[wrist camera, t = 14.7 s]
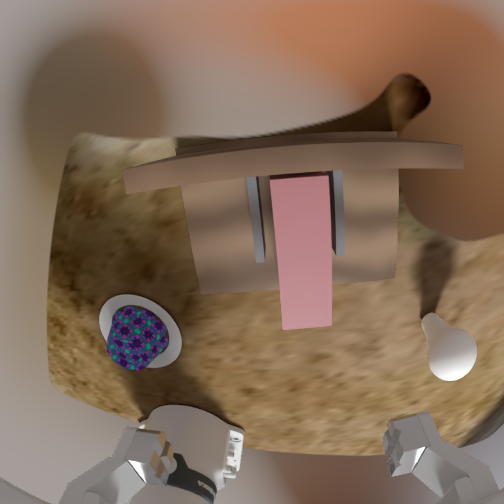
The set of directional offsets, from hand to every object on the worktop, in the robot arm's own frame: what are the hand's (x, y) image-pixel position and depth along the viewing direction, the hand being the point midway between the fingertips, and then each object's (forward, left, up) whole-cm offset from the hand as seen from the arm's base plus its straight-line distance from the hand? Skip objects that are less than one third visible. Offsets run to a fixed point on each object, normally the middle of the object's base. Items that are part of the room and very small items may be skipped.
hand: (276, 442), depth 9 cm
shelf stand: (+2, -2, -25) cm, 25 cm away
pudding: (-12, +19, -25) cm, 33 cm away
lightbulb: (-13, -19, -25) cm, 34 cm away
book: (+1, -2, -24) cm, 24 cm away
